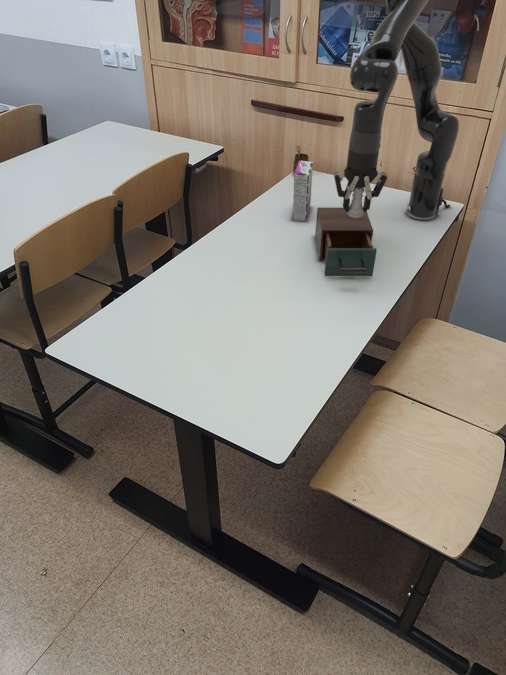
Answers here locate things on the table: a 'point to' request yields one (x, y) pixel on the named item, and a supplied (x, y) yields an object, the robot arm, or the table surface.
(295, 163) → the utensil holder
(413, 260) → the table surface
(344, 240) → the drawer
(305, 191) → the candy bar box
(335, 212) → the cabinet
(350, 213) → the rook chess piece
